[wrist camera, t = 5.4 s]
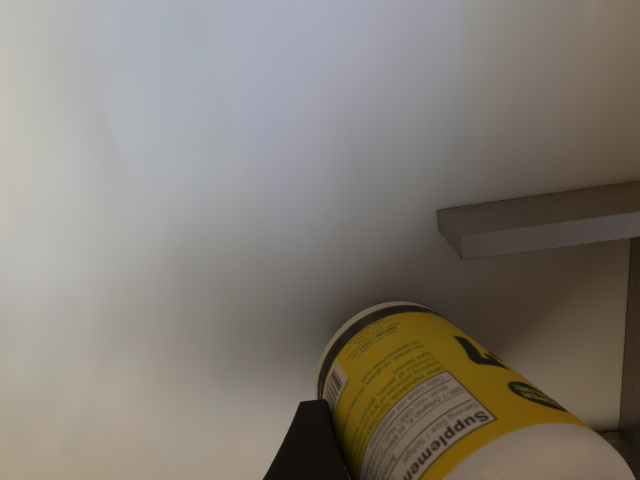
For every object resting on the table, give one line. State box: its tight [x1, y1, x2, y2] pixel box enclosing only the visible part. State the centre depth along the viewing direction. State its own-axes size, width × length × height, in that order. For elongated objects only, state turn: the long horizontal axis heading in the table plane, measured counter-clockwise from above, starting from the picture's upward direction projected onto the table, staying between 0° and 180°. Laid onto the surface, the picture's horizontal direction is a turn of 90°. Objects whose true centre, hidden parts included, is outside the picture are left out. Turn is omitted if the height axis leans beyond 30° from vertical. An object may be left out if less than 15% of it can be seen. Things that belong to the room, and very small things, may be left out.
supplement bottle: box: [315, 301, 635, 480], centre depth 9 cm, size 5×5×8 cm
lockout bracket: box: [436, 181, 640, 480], centre depth 12 cm, size 6×9×2 cm, turn 9°
